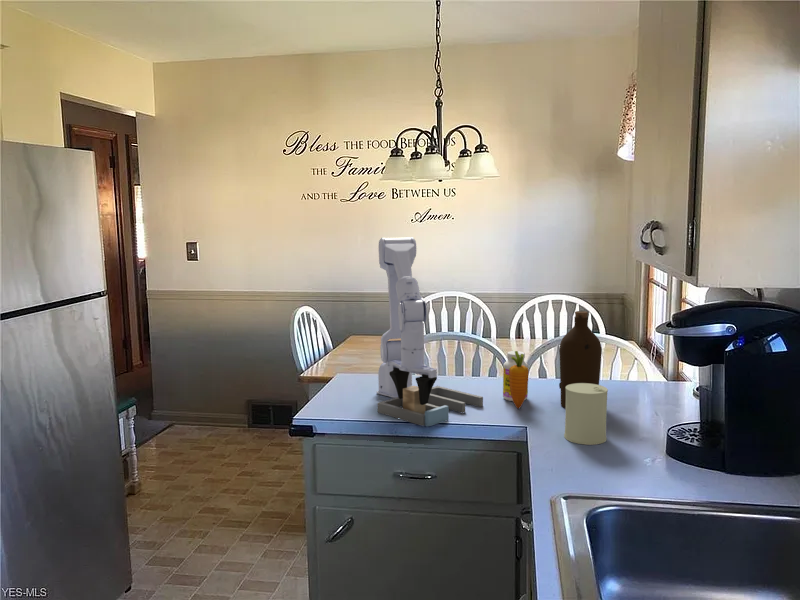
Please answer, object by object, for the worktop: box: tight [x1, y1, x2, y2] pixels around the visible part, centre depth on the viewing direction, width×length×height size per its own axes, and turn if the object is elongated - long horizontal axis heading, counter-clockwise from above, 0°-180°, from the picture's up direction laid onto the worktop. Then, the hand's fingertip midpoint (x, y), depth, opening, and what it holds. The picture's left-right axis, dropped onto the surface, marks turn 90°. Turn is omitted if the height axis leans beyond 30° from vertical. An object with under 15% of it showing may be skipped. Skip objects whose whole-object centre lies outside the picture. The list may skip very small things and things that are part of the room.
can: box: [563, 383, 609, 446], centre depth 147 cm, size 9×9×12 cm
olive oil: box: [558, 310, 603, 409], centre depth 171 cm, size 11×11×25 cm
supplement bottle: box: [502, 350, 529, 402], centre depth 179 cm, size 7×7×13 cm
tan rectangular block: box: [403, 385, 425, 414], centre depth 166 cm, size 4×4×7 cm
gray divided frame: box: [377, 385, 484, 427], centre depth 171 cm, size 17×23×4 cm
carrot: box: [509, 350, 530, 410], centre depth 170 cm, size 5×5×15 cm
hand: (413, 400), depth 165 cm, fingers open, 7 cm apart
